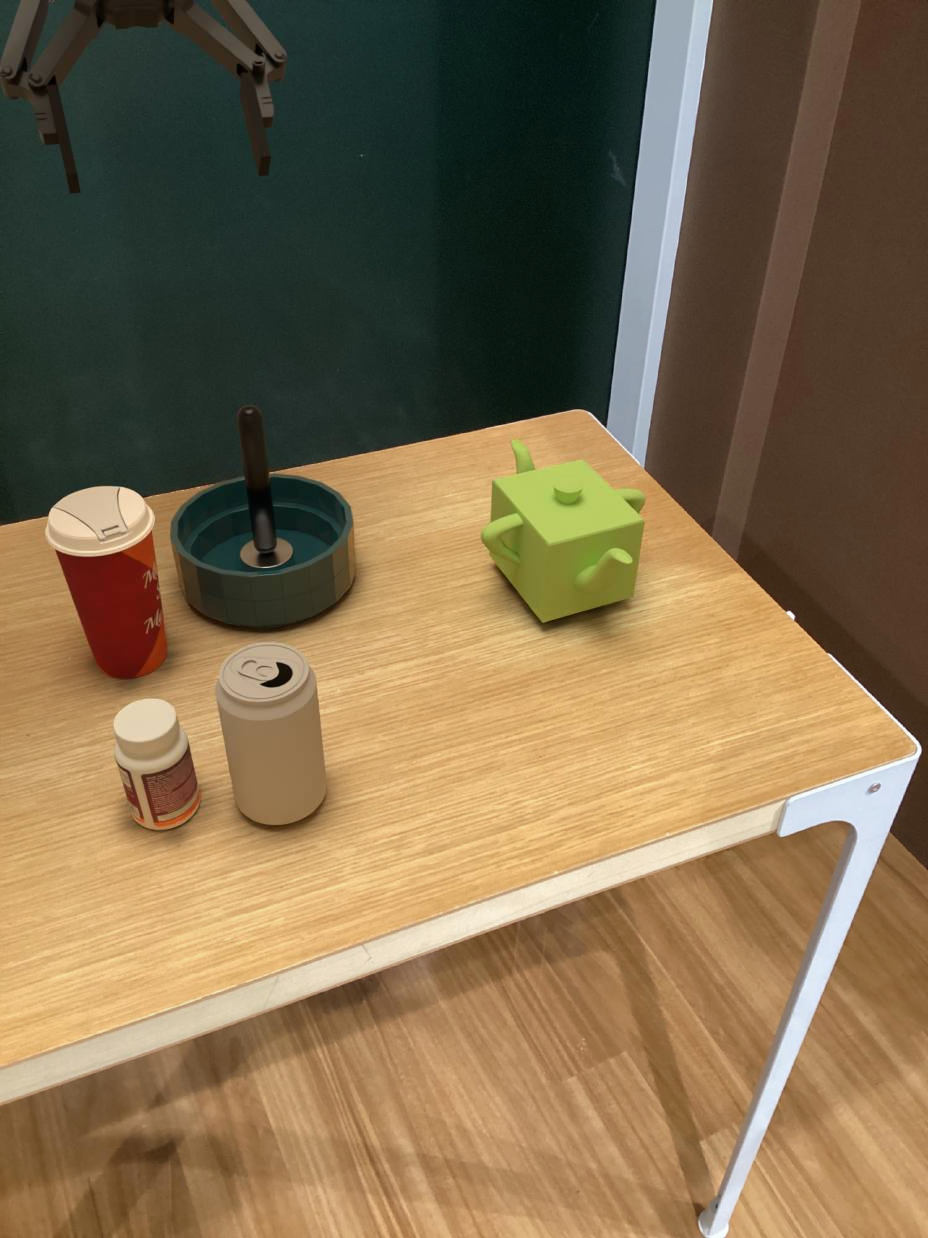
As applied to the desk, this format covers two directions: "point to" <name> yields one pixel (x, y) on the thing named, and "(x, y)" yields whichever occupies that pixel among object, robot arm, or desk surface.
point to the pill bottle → (155, 764)
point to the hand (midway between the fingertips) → (171, 175)
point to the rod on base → (259, 499)
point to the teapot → (564, 536)
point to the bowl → (222, 527)
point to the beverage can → (272, 732)
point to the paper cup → (112, 576)
